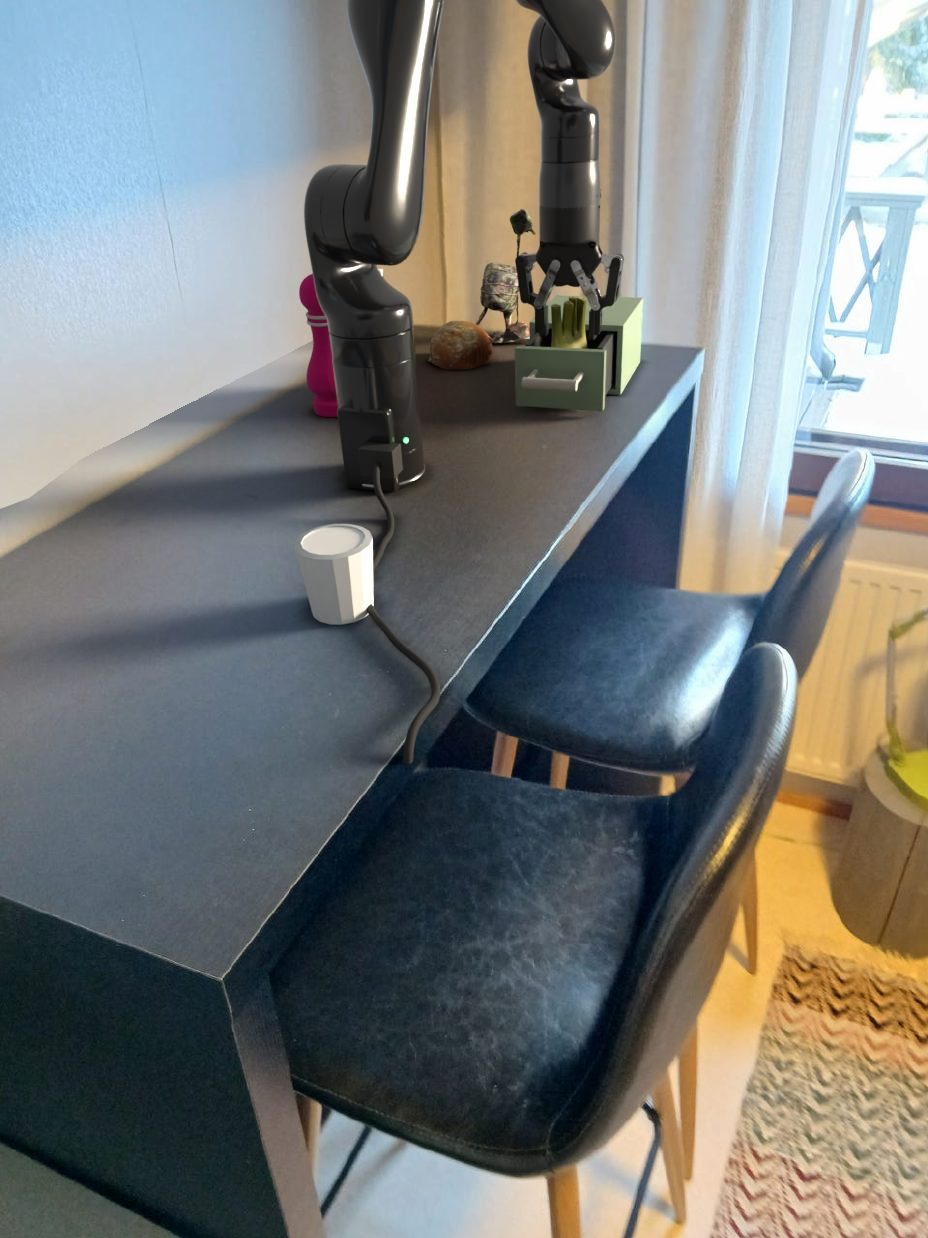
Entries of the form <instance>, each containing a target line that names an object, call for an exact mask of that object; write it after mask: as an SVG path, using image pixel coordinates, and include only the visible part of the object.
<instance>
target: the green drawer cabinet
mask: <svg viewBox="0 0 928 1238" xmlns="http://www.w3.org/2000/svg"><path fill="white" fill-rule="evenodd" d="M569 297H576V298H578V297H582V298H586V296H585V295H561V294H559V295H558V294H557V295H556V296H554V297H553V298H552V300H551V301H549V302H548V303H547V304H546V306H548V329H552V316H551V305H552V304H559V305H561V318H562V316H563V306H564V302H565V301H566V300H568V301H569ZM590 310H591V307H590V304H589V302H588V300H587V304H586V317H585V330H589V311H590ZM643 310H644V298H643V297H634V296H633V297H632V296H631V297H629V296H618V298H617V300H616V301H615V302H614V304H613V305H612V306H607V307H605V308H603V310H602V330H601V331H618V332H617V357H616V380H615V381H614V383H613V385H612V386H611V388H610V389H609V391H608V393H607V394H606V395H611V396H621V395H622V394H623V392H624V390H625V389H626V387H627V385H628V383H629V381H630V380H631V378H632V376H633V375H634V373H635V371H636V369H637V368H638V366H639V365H640V363H641V350H642V331H643ZM528 327H530V328H529V335H530V339H531V338H532V337H533V336H534V335H535V334H536V330H535V316H534V317H533V318H531V320H530V321H529V325H528ZM530 339H529V340H530Z"/></svg>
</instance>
